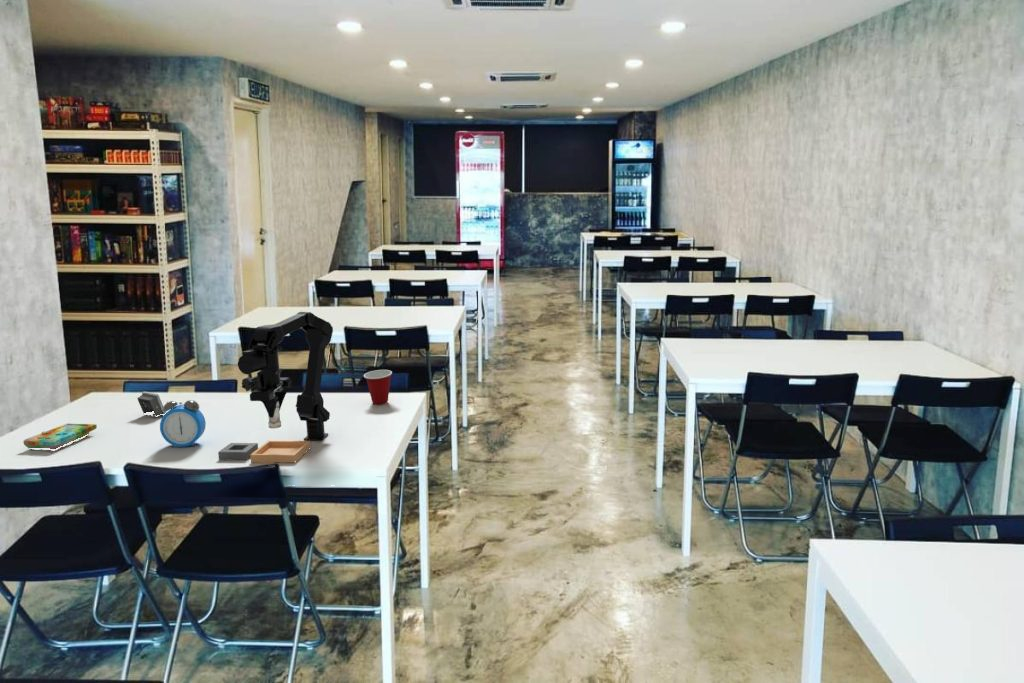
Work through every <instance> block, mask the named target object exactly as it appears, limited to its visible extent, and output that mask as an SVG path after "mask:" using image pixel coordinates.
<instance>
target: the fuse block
mask: <svg viewBox="0 0 1024 683" xmlns="http://www.w3.org/2000/svg"><path fill="white" fill-rule="evenodd" d="M258 448H259V444H258V443H257V442H230V443H229V444H227V445H226V446H225V447H222V448H221V449H220V450H218V452H217V453H218V460H220V461H223V460H226V461H231V460H232V461H233V460H235V461H237V460H238V461H241V460H243V461H245V460H246V461H247V460H248V459H249V457H250V458H251V456H250V455H251V454H252V453H253V452H255V451H256V450H257V449H258Z"/></svg>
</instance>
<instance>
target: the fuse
mask: <svg viewBox="0 0 1024 683" xmlns="http://www.w3.org/2000/svg"><path fill="white" fill-rule="evenodd" d="M280 414H281V413H280V411H279V401H278V400H277V404H276V409H275V413H274V417H273V418H270V417H269V415H268V414H267V415H268V416H267V418H268V428H269V429H279V428H281V427H282V420H281V415H280Z"/></svg>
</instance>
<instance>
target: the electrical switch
mask: <svg viewBox="0 0 1024 683" xmlns="http://www.w3.org/2000/svg"><path fill="white" fill-rule="evenodd" d="M136 399H137V402H138V404H139V405H140V408H141V411H142V413H143V414H144V413H146V412H152V411H154V413H155V415H156V416H157V415H160V414H165V413H167V411H166V412H164V411H163V407H164V404H163V403H162V400H161V397H160V395H159V394H158V393H154V392H149V391H142V392H141V395H140V396H137V397H136Z"/></svg>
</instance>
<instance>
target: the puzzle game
mask: <svg viewBox="0 0 1024 683" xmlns="http://www.w3.org/2000/svg"><path fill="white" fill-rule="evenodd" d="M96 429H97V424H96V423H95V424H94V423H93V424H92V423H69V422H68V423H64V424H62V425H59V426H55V427H53V428H51V429H49V430H46V431H41V433H39V434H36V435H32V436H31V437H28V438H26V439H24V440H23V445H24V446H25V447H26V448H27V449H29V448H50V449H56V448H58V447H60V446H63V445H64V444H67V443H69V442H71V441H74V440H76V439H78V438H81V437H83V436H85V435H87V434H90V432H92V431H94V430H96Z"/></svg>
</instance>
